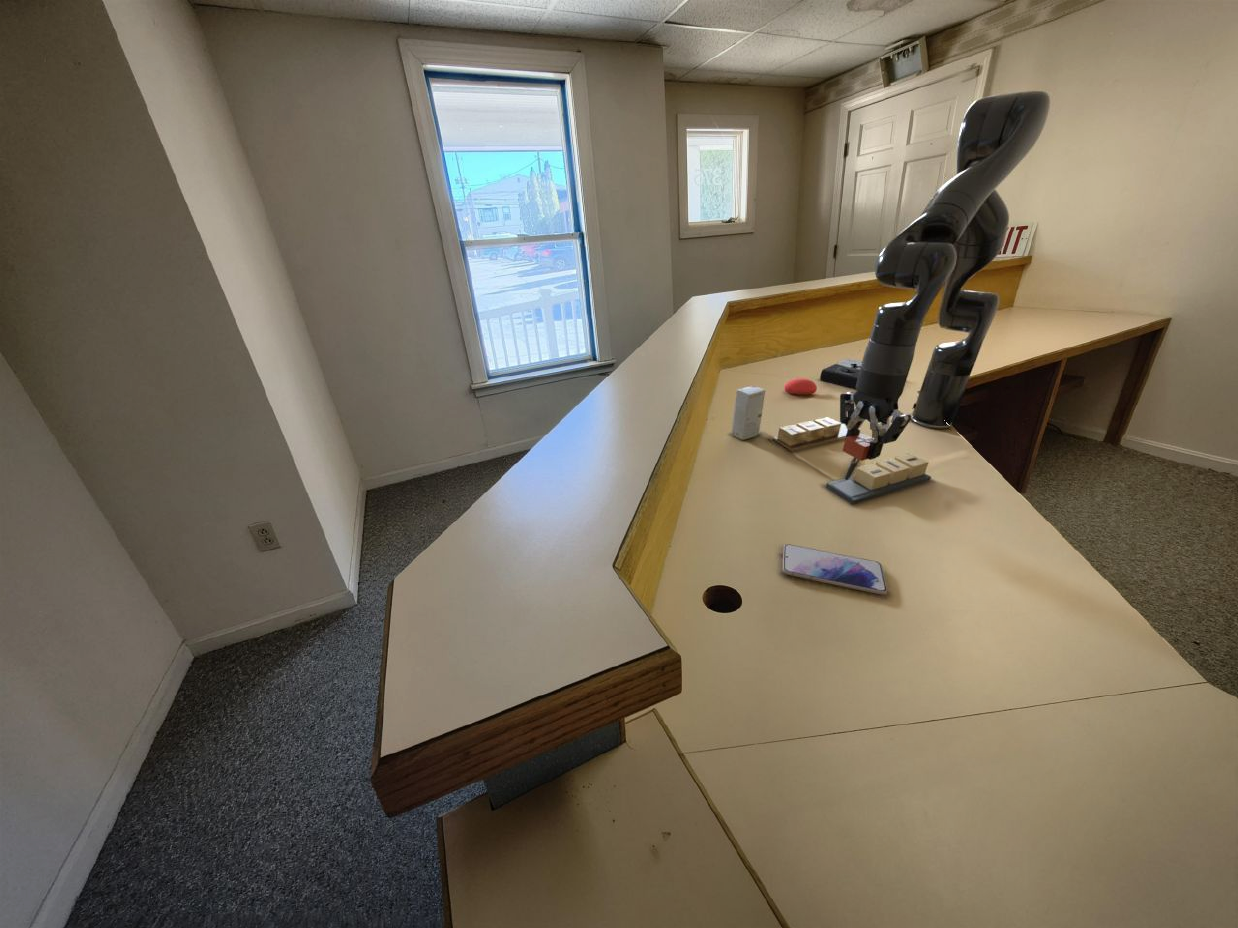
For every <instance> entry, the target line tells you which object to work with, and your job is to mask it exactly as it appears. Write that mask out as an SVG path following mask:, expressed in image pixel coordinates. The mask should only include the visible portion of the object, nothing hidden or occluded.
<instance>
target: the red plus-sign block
mask: <svg viewBox="0 0 1238 928" xmlns="http://www.w3.org/2000/svg"><path fill="white" fill-rule="evenodd" d="M845 438H846V439H845ZM845 438H844V443H843V447H842V452H843V453H845V454H847V455H848V456H851V457H852V458H854V457H855V458H856V459H858V461H860V462H862V461H866V460H868V459H867V458H866V457H867V453H868V450H869V447H870V446H869V445H870V442H871V441H872V436H870V435H868V434H866V433H864V432H863V433H862V432H861V433H859V435H854V436H850V437H846V436H845Z"/></svg>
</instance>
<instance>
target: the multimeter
mask: <svg viewBox="0 0 1238 928" xmlns="http://www.w3.org/2000/svg"><path fill="white" fill-rule="evenodd" d="M861 364H862V360H857V359H853V358H845V359H843V360H841V361H838V362H836V363H834V364H832V365H830V366H828V367H826V368H822V370H821V373H820V376H819V380H820V381H822V382H823V381H824V382H827V383H830V384H835V385H838V386H843V387H847V388H850V389H855V390H856V383H857V380H858V376H859V372H860V368H861Z"/></svg>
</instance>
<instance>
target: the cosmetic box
mask: <svg viewBox="0 0 1238 928" xmlns="http://www.w3.org/2000/svg"><path fill="white" fill-rule="evenodd" d="M765 396H766V389H764V388H761V387H758V386H755V385H750V386H746V387H742V388H738V389H736V394H735V402H734V410H733V418H732V426H731V435H732V436H733V437H735V438H738V439H740V440H742V441H743V440H747V439H750V438H754V437H756V436H758V435H759V434H760V428H761V423H762V417H763V410H764V409H763V408H764V402H765Z"/></svg>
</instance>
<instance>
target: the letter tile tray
mask: <svg viewBox="0 0 1238 928" xmlns="http://www.w3.org/2000/svg"><path fill="white" fill-rule="evenodd" d="M847 430H848V429H847V428H846V425H845V424H842V423H841V422H840V421H837V420H835V419H833V418H830V417H828V416H825V417H821V418H816V419H814V420H808V421H802V422H798V423H796V424H794V423H793V424H790V425H785V426H780V427H779V428H778V433H777V435H774V436H772V438H771V441H772V442H774V443H775V444H777V445H778V446H780V447H782V448H783V449H785V450H786V451H788V452H789V453H793V450H792V449H798V448H801V447H805V446H810V445H814V444H818V443H822V442H826V441H830V440H834V439H839V438H843V437H846V434H847ZM779 442H780V443H779ZM781 443H782V444H781ZM789 448H790V449H789Z"/></svg>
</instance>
